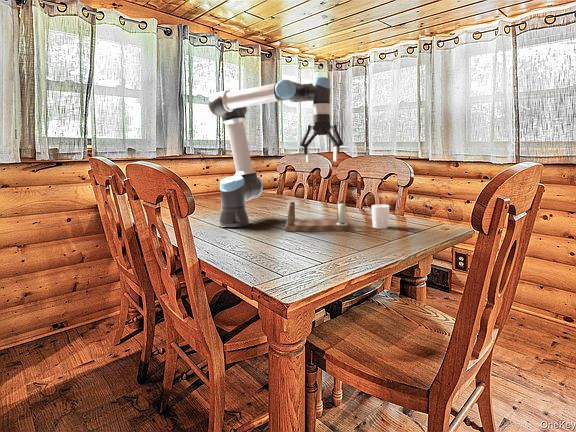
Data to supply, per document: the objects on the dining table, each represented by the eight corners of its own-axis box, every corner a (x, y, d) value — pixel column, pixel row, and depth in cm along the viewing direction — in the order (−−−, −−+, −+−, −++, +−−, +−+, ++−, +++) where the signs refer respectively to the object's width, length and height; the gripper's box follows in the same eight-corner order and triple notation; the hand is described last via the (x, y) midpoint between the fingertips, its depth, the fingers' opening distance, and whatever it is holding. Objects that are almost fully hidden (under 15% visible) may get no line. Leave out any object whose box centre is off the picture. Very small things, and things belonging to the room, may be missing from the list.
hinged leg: (337, 220, 178) (337, 201, 176) (344, 220, 178) (344, 201, 176) (338, 224, 169) (338, 204, 168) (345, 224, 169) (345, 204, 167)
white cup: (389, 229, 169) (390, 207, 167) (371, 229, 171) (371, 207, 169) (388, 225, 177) (388, 204, 175) (371, 225, 179) (371, 204, 177)
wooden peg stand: (285, 231, 171) (284, 206, 168) (287, 225, 184) (286, 201, 181) (348, 230, 169) (348, 205, 167) (345, 224, 182) (345, 200, 180)
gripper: (297, 113, 164) (298, 162, 168) (350, 113, 170) (350, 161, 174) (292, 114, 171) (293, 162, 175) (343, 114, 177) (343, 160, 182)
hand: (321, 161), depth 175 cm, fingers open, 13 cm apart
